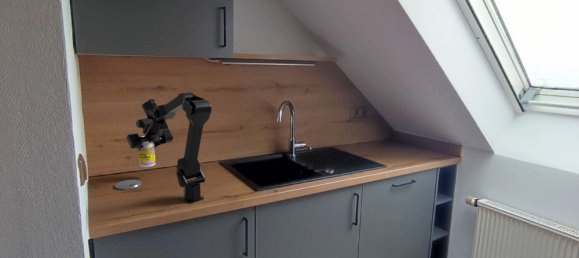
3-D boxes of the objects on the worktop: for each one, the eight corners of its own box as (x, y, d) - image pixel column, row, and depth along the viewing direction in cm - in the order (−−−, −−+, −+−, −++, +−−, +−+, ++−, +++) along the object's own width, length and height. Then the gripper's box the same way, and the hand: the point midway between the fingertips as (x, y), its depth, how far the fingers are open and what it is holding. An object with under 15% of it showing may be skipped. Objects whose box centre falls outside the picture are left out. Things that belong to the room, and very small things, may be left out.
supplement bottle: (136, 167, 160) (134, 138, 158) (144, 163, 167) (141, 135, 164) (151, 167, 160) (149, 138, 157) (158, 163, 166) (156, 135, 164)
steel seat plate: (146, 185, 155) (145, 183, 155) (122, 191, 148) (122, 189, 148) (134, 180, 162) (134, 178, 162) (111, 186, 154) (111, 183, 154)
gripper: (168, 110, 163) (157, 131, 172) (126, 115, 149) (117, 137, 159) (179, 130, 159) (167, 151, 168) (136, 136, 146) (126, 158, 155)
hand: (145, 149), depth 163 cm, fingers closed on supplement bottle, 7 cm apart
